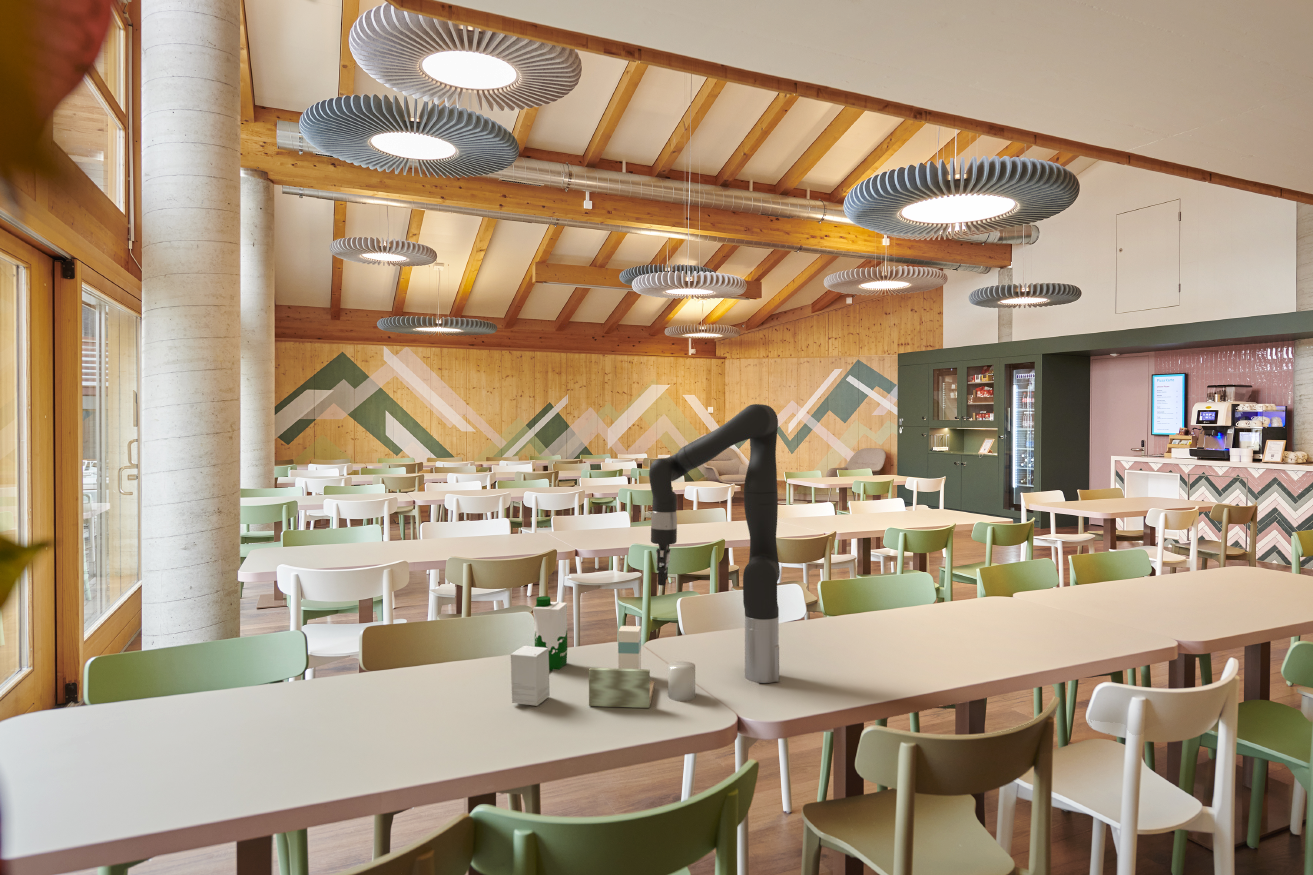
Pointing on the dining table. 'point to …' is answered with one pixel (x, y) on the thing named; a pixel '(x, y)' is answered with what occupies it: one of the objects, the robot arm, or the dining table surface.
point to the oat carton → (629, 647)
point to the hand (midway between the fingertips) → (662, 582)
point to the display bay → (620, 687)
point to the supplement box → (530, 675)
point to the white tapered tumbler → (681, 681)
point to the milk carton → (551, 630)
